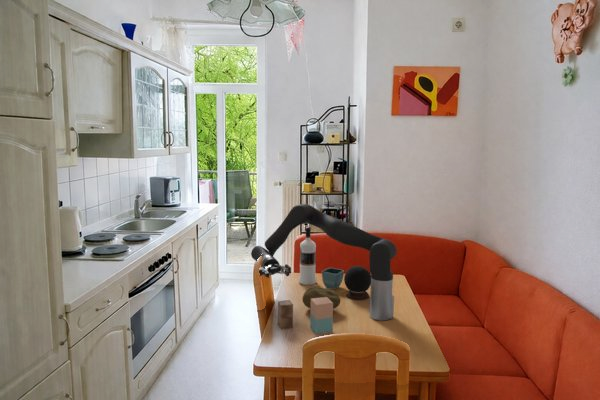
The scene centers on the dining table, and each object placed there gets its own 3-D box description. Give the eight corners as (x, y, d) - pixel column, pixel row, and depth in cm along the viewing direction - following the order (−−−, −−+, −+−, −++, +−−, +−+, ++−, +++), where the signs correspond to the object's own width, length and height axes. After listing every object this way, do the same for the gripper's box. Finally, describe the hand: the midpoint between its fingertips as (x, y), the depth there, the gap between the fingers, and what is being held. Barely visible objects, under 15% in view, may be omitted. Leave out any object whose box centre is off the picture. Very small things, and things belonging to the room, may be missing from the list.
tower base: (326, 324, 183) (326, 311, 182) (332, 332, 176) (332, 317, 175) (310, 326, 181) (310, 312, 180) (315, 334, 174) (316, 319, 173)
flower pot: (344, 286, 230) (344, 270, 229) (336, 291, 223) (336, 274, 222) (329, 283, 235) (329, 267, 234) (320, 288, 227) (321, 271, 226)
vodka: (316, 285, 232) (317, 228, 228) (299, 285, 232) (299, 228, 227) (315, 279, 241) (316, 225, 237) (298, 279, 241) (298, 225, 237)
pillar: (289, 323, 184) (289, 299, 183) (292, 327, 180) (293, 304, 178) (277, 324, 183) (277, 301, 182) (280, 329, 178) (280, 305, 177)
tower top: (326, 311, 182) (326, 296, 181) (332, 317, 175) (333, 302, 175) (310, 312, 180) (310, 298, 179) (316, 319, 173) (316, 304, 173)
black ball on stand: (363, 303, 208) (364, 271, 206) (338, 297, 215) (339, 267, 213) (375, 295, 219) (376, 265, 216) (351, 289, 226) (352, 261, 224)
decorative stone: (341, 307, 202) (341, 285, 201) (339, 316, 192) (339, 294, 190) (304, 304, 206) (305, 283, 204) (300, 313, 195) (300, 291, 193)
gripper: (254, 257, 202) (261, 267, 187) (284, 255, 206) (294, 265, 191) (254, 273, 203) (261, 284, 188) (284, 271, 207) (294, 282, 192)
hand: (278, 274), depth 189 cm, fingers open, 8 cm apart
